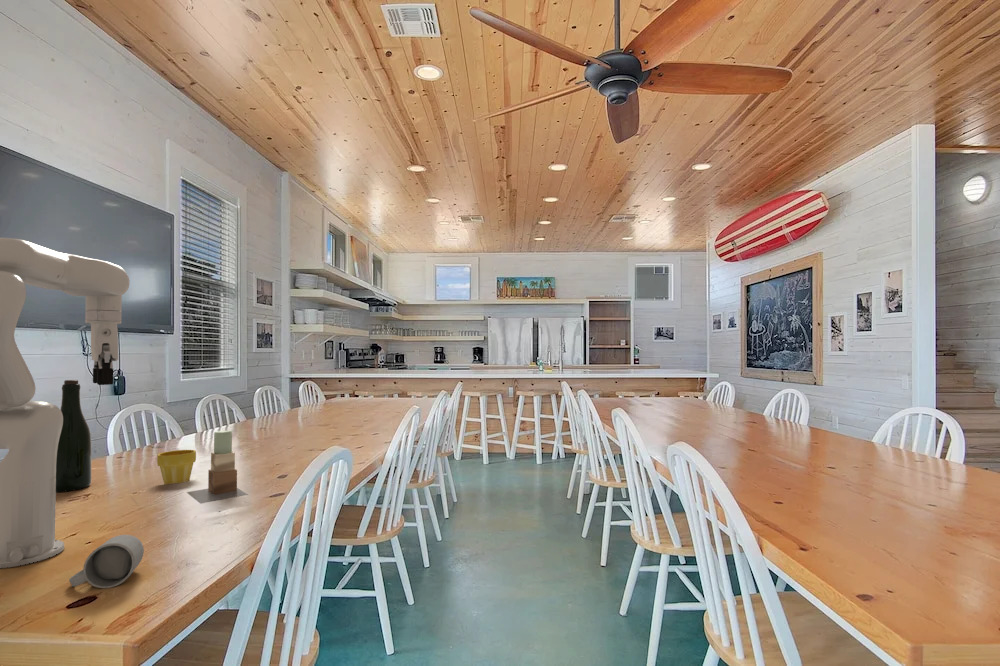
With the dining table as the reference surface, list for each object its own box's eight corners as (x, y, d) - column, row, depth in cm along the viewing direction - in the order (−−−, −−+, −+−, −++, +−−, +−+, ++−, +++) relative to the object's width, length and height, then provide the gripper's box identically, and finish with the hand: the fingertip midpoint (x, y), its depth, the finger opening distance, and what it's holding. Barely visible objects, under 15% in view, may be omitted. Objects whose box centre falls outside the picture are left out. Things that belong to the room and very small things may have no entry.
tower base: (236, 490, 153) (237, 469, 153) (214, 494, 148) (214, 473, 149) (230, 486, 157) (230, 466, 157) (208, 490, 153) (208, 469, 153)
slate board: (247, 498, 148) (247, 494, 148) (200, 507, 140) (200, 503, 140) (231, 487, 159) (231, 484, 159) (186, 495, 151) (186, 492, 151)
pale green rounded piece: (233, 452, 153) (234, 431, 153) (216, 454, 150) (216, 433, 150) (229, 450, 156) (229, 430, 156) (212, 452, 153) (212, 431, 153)
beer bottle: (46, 487, 161) (48, 379, 162) (90, 481, 168) (91, 378, 168) (46, 495, 153) (48, 381, 154) (92, 488, 160) (94, 379, 161)
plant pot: (159, 481, 167) (160, 450, 168) (197, 478, 172) (197, 448, 172) (154, 489, 158) (154, 457, 158) (193, 485, 162) (194, 453, 163)
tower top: (234, 469, 153) (234, 452, 153) (215, 472, 149) (215, 455, 149) (229, 467, 156) (229, 450, 157) (210, 469, 153) (211, 452, 153)
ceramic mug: (146, 567, 102) (145, 527, 102) (134, 584, 94) (133, 541, 94) (79, 577, 98) (79, 535, 98) (61, 596, 90) (61, 551, 91)
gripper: (126, 317, 133) (125, 384, 133) (116, 320, 146) (115, 381, 146) (89, 316, 128) (88, 386, 128) (82, 319, 141) (81, 383, 141)
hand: (102, 383), depth 137 cm, fingers open, 9 cm apart
